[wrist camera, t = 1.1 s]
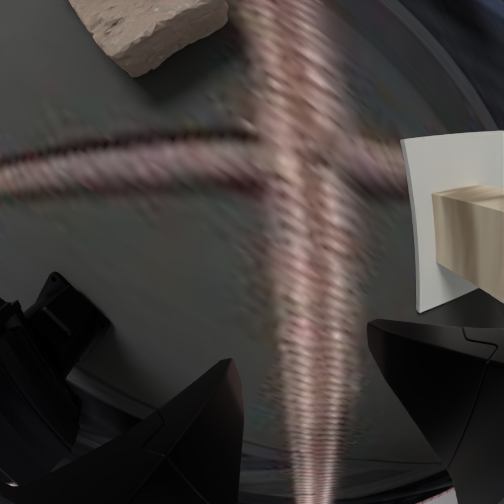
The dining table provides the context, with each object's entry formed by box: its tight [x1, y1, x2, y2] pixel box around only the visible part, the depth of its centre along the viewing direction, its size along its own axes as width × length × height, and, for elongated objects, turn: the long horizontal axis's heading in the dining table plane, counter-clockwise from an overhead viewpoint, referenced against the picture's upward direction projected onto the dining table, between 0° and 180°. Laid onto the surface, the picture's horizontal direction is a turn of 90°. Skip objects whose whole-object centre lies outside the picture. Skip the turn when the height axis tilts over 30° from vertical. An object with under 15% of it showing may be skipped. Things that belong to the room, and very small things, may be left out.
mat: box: [400, 131, 504, 313], centre depth 20 cm, size 20×14×1 cm
